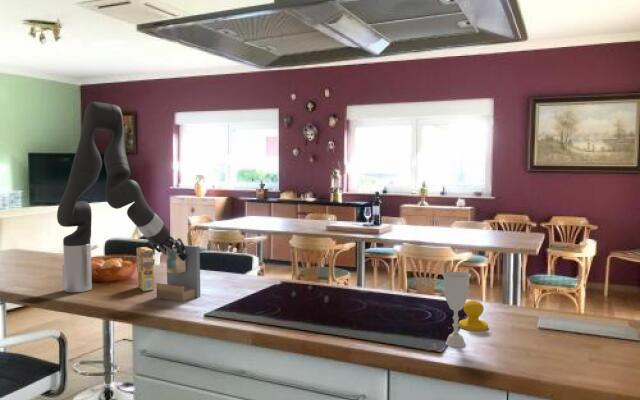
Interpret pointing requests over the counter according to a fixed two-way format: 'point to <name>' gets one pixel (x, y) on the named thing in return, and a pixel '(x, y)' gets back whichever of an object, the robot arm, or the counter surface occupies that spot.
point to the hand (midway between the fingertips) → (178, 258)
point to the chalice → (456, 301)
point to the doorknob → (473, 317)
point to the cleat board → (183, 279)
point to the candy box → (145, 268)
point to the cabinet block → (174, 262)
